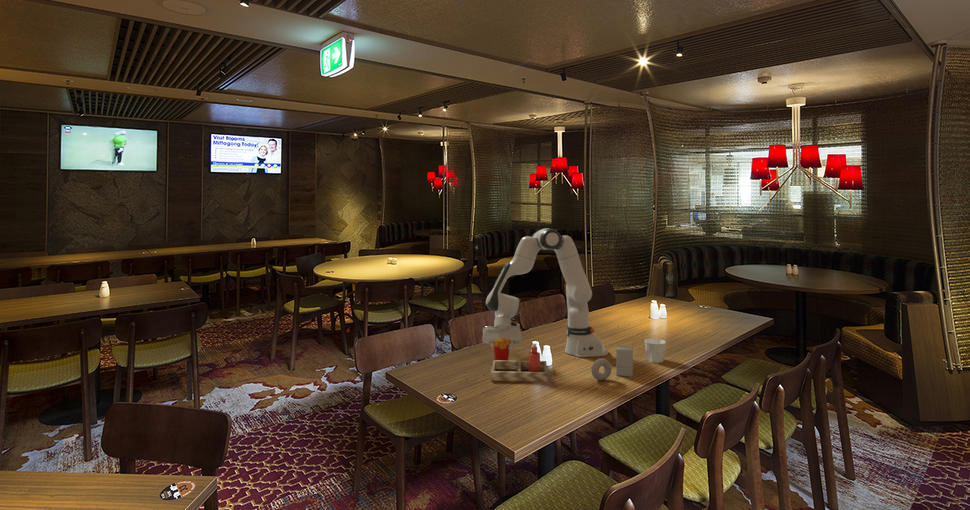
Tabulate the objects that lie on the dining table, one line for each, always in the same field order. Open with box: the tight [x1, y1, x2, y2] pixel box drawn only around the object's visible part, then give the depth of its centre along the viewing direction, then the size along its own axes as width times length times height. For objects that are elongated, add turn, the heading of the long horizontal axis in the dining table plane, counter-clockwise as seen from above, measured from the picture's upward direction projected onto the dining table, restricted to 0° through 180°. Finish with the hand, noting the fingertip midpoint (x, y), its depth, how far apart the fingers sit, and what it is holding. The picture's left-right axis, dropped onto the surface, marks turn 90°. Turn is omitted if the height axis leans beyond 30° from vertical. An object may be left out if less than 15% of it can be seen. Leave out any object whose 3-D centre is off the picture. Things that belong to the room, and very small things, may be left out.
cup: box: [644, 337, 666, 364], centre depth 239 cm, size 10×10×10 cm
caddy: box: [490, 359, 549, 383], centre depth 221 cm, size 26×16×4 cm, turn 85°
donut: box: [590, 358, 612, 381], centre depth 213 cm, size 10×4×10 cm, turn 110°
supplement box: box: [615, 344, 634, 378], centre depth 221 cm, size 7×7×13 cm
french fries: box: [493, 338, 511, 360], centre depth 239 cm, size 8×4×12 cm, turn 110°
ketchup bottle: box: [528, 343, 541, 372], centre depth 218 cm, size 5×5×15 cm
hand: (501, 350), depth 238 cm, fingers closed on french fries, 7 cm apart
